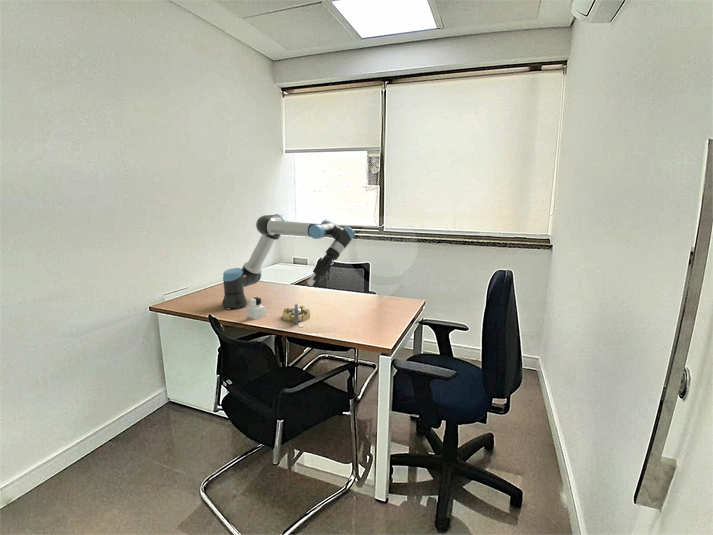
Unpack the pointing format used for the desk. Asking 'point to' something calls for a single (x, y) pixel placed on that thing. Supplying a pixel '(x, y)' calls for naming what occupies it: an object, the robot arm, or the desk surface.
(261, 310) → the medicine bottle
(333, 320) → the desk surface
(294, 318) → the block with gold ring
